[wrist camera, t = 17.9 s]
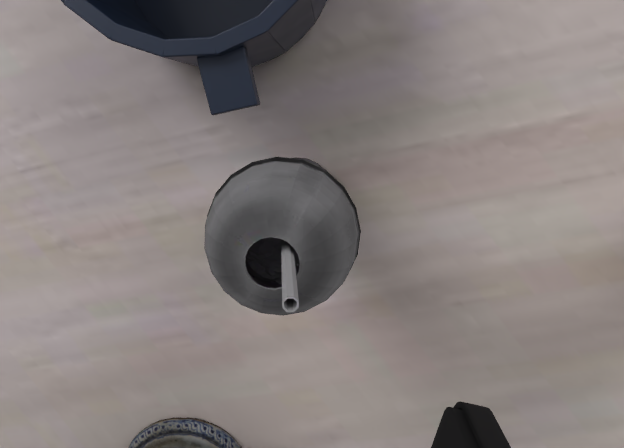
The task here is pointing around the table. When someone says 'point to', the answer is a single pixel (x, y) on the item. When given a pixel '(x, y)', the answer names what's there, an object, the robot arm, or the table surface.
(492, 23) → the table surface
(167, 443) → the decorative vase
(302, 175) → the beverage cup
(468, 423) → the robot arm
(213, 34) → the pot
